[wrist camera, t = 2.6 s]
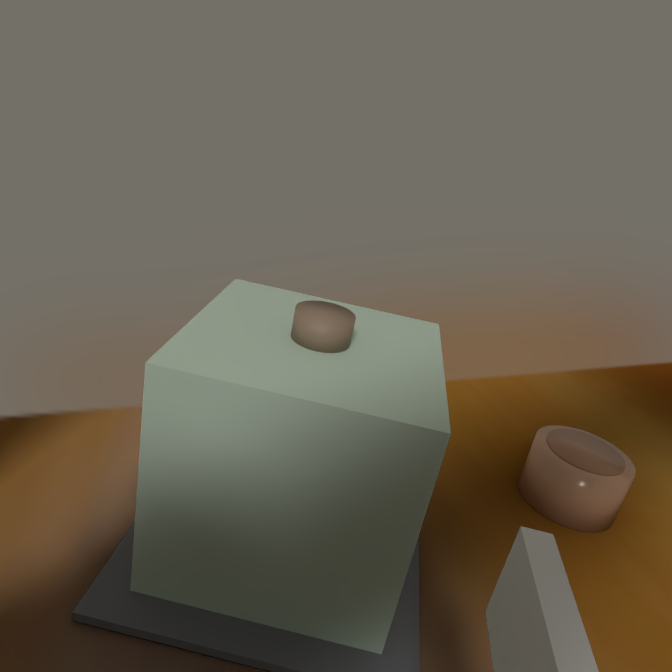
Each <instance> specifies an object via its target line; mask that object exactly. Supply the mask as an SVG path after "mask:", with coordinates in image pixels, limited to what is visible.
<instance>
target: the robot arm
mask: <svg viewBox="0 0 672 672" xmlns="http://www.w3.org/2000/svg"><path fill="white" fill-rule="evenodd" d="M485 613H486V620H487V627H488V634H489V641H490V648H491V655H492V662H493V669H494V672H599V671H598V668H597V665H596V662H595V659H594V656H593V653H592V650H591V647H590V644H589V641H588V638H587V635H586V632H585V629H584V626H583V623H582V620H581V617H580V614H579V611H578V608H577V605H576V602H575V599H574V596H573V593H572V590H571V587H570V584H569V580H568V577H567V574H566V571H565V568H564V565H563V562H562V559H561V556H560V553H559V550H558V547H557V544H556V541H555V538H554V535H553V534H550V533H546V532H542V531H538V530H534V529H530V528H526V527H522V526H520V529H519V531H518V534H517V536H516V539H515V541H514V543H513V546H512V548H511V551H510V553H509V555H508V558H507V560H506V563H505V565H504V567H503V570H502V572H501V575H500V577H499V579H498V582H497V584H496V587H495V589H494V592H493V594H492V596H491V599H490V601H489V604H488V606H487V608H486V611H485Z"/></svg>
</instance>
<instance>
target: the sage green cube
mask: <svg viewBox="0 0 672 672" xmlns="http://www.w3.org/2000/svg"><path fill="white" fill-rule="evenodd" d="M440 341H441V340H440V332H439V325H438V324H435V323H431V322H426V321H422V320H417V319H413V318H408V317H403V316H399V315H395V314H390V313H386V312H382V311H377V310H372V309H368V308H364V307H359V306H355V305H350V304H346V303H342V302H337V301H332V300H328V299H324V298H319V297H315V296H310V295H306V294H301V293H297V292H292V291H287V290H284V289H279V288H275V287H270V286H266V285H261V284H257V283H252V282H248V281H244V280H239V279H235V280H234V281H233V282H232V283H231V284H230V285H229V286H227V287H226V288H225V289H224V290H223V291H222V292H221V293H220V294H219V295H218V296H217V297H216V298H214V299H213V300H212V301H211V302H210V303H209V304H208V305H207V306H206V307H205V308H204V309H203V310H202V311H200V312H199V314H197V315H196V316H195V317H194V318H193V319H192V320H191V321H190V322H189V323H187V325H185V326H184V327H183V328H182V329H181V330H180V331H179V332H178V333H177V334H176V335H175V336H173V337H172V338H171V339H170V340H169V341H168V342H167V343H166V344H165V345H164V346H163V347H162V348H160V349H159V350H158V351H157V352H156V353H155V354H154V355H153V356H152V357H151V358H150V359H149V360H148V361H146V363H145V378H144V379H145V380H144V394H143V408H142V422H141V437H140V452H139V467H138V482H137V496H136V511H135V526H134V541H133V556H132V570H131V585H130V591H134V592H138V593H142V594H146V595H150V596H153V597H157V598H161V599H165V600H169V601H173V602H177V603H181V604H185V605H189V606H193V607H197V608H201V609H205V610H209V611H212V612H216V613H220V614H224V615H228V616H232V617H236V618H240V619H244V620H248V621H252V622H256V623H260V624H264V625H268V626H271V627H275V628H279V629H283V630H287V631H291V632H295V633H299V634H303V635H307V636H311V637H315V638H319V639H323V640H326V641H330V642H334V643H338V644H342V645H346V646H350V647H354V648H358V649H362V650H366V651H370V652H374V653H378V654H382V651H383V648H384V645H385V642H386V639H387V635H388V632H389V629H390V626H391V623H392V620H393V616H394V613H395V610H396V607H397V604H398V600H399V597H400V594H401V591H402V588H403V585H404V581H405V578H406V575H407V572H408V569H409V565H410V562H411V559H412V556H413V553H414V550H415V546H416V543H417V540H418V537H419V534H420V530H421V527H422V524H423V521H424V518H425V515H426V511H427V508H428V505H429V502H430V499H431V495H432V492H433V489H434V486H435V483H436V480H437V476H438V473H439V470H440V467H441V464H442V461H443V457H444V454H445V451H446V448H447V445H448V441H449V438H450V435H451V430H450V421H449V412H448V403H447V394H446V385H445V376H444V367H443V360H442V359H443V358H442V350H441V342H440Z"/></svg>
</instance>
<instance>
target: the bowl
mask: <svg viewBox="0 0 672 672" xmlns="http://www.w3.org/2000/svg"><path fill="white" fill-rule="evenodd" d="M635 475H636V469H635V466H634V464H633V462H632V461H631V460H630V459H629V457H628V456H627V455H626V454H625V453H623V452H622V451H621V450H620V449H619V448H617V447H616V446H614V445H613V444H611V443H609V442H608V441H606V440H604V439H602V438H600V437H598V436H596V435H594V434H591V433H589V432H586V431H583V430H580V429H577V428H573V427H568V426H561V425H550V426H545V427H542V428H540V429H539V430H538V431H537V433H536V435H535V438H534V441H533V443H532V446H531V449H530V451H529V454H528V456H527V459H526V462H525V464H524V467H523V470H522V472H521V475H520V477H519V480H518V487H519V491H520V493H521V495H522V496H523V498H524V499H525V500H526V501H527V503H528V504H529V505H530V506H531V507H532V508H533V509H535V510H536V511H537V512H538V513H540V514H541V515H543V516H544V517H546V518H548V519H549V520H551V521H553V522H555V523H557V524H559V525H562V526H564V527H567V528H570V529H573V530H576V531H581V532H589V533H596V532H602V531H605V530H607V529H609V528H610V527H611V525H612V524H613V522H614V520H615V518H616V515H617V513H618V511H619V509H620V507H621V505H622V503H623V501H624V499H625V496H626V494H627V492H628V490H629V488H630V486H631V484H632V482H633V480H634V478H635Z"/></svg>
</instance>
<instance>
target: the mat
mask: <svg viewBox="0 0 672 672" xmlns="http://www.w3.org/2000/svg"><path fill="white" fill-rule="evenodd" d="M134 526H135V521H134V523H133V524H132V526H131V527H130V529H129V530H128V531H127V533H126V534H125V536H124V537H123V539H122V540H121V542H120V543H119V545H118V546H117V548H116V549H115V550H114V552H113V553H112V555H111V556H110V558H109V559H108V561H107V562H106V564H105V565H104V566H103V568H102V569H101V571H100V572H99V574H98V575H97V577H96V578H95V580H94V581H93V582H92V584H91V585H90V587H89V588H88V590H87V591H86V593H85V594H84V596H83V597H82V598H81V600H80V601H79V603H78V604H77V606H76V607H75V609H74V610H73V612H72V620H73V621H77V622H81V623H85V624H89V625H93V626H96V627H100V628H104V629H108V630H112V631H116V632H120V633H124V634H127V635H131V636H135V637H139V638H143V639H147V640H151V641H155V642H158V643H162V644H166V645H170V646H174V647H178V648H182V649H186V650H189V651H193V652H197V653H201V654H205V655H209V656H213V657H216V658H220V659H224V660H228V661H232V662H236V663H240V664H244V665H247V666H251V667H255V668H259V669H263V670H267V671H271V672H420V591H419V537H418V540H417V543H416V546H415V550H414V553H413V556H412V559H411V562H410V565H409V569H408V572H407V575H406V578H405V581H404V585H403V588H402V591H401V594H400V597H399V600H398V604H397V607H396V610H395V613H394V616H393V620H392V623H391V626H390V629H389V632H388V635H387V639H386V642H385V645H384V648H383V651H382V654H378V653H374V652H370V651H366V650H362V649H358V648H354V647H350V646H346V645H342V644H338V643H334V642H330V641H326V640H323V639H319V638H315V637H311V636H307V635H303V634H299V633H295V632H291V631H287V630H283V629H279V628H275V627H271V626H268V625H264V624H260V623H256V622H252V621H248V620H244V619H240V618H236V617H232V616H228V615H224V614H220V613H216V612H212V611H209V610H205V609H201V608H197V607H193V606H189V605H185V604H181V603H177V602H173V601H169V600H165V599H161V598H157V597H153V596H150V595H146V594H142V593H138V592H134V591H130V585H131V570H132V556H133V541H134Z"/></svg>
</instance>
